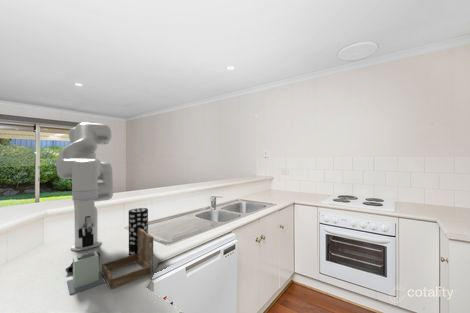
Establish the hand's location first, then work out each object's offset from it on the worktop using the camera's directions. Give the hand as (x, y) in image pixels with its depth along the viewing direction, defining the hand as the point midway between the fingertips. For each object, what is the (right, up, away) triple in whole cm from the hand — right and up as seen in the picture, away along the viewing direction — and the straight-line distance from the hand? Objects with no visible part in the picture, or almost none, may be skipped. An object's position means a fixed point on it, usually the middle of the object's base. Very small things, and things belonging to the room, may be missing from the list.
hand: (85, 241), depth 78 cm
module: (0, -14, -1) cm, 14 cm away
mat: (+1, -15, -1) cm, 15 cm away
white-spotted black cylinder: (+9, -15, +23) cm, 29 cm away
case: (+12, -14, +6) cm, 19 cm away
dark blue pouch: (-9, -15, +13) cm, 22 cm away
